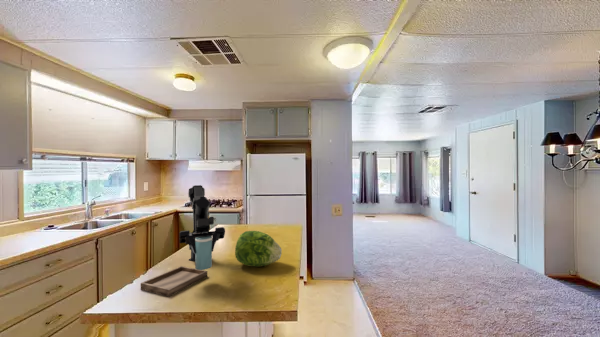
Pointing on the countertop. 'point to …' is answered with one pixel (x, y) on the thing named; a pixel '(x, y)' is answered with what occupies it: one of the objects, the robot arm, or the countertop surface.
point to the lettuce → (257, 249)
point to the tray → (173, 281)
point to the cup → (203, 252)
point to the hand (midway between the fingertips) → (203, 252)
